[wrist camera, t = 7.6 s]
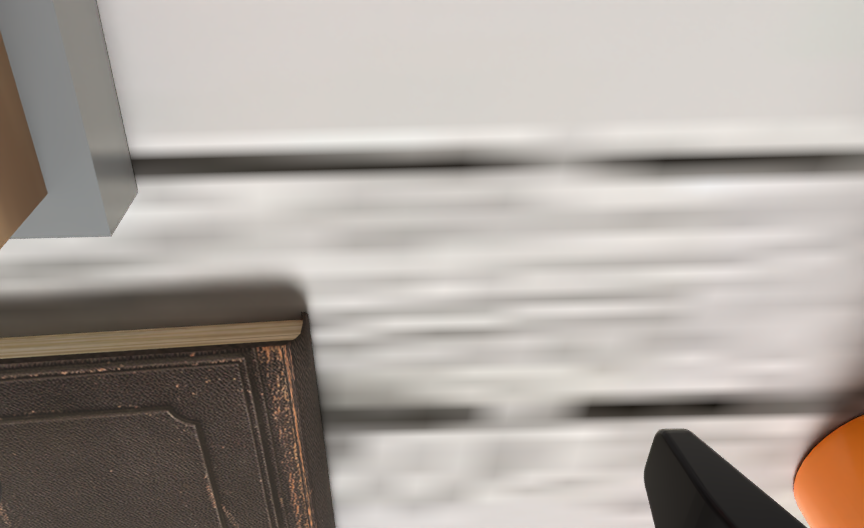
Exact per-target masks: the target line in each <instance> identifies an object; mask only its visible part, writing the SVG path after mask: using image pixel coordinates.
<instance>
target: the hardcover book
mask: <svg viewBox="0 0 864 528" xmlns="http://www.w3.org/2000/svg"><path fill="white" fill-rule="evenodd" d="M301 313H302V320H286V321H270V322H254V323H237V324H221V325H204V326H188V327H172V328H155V329H139V330H122V331H106V332H90V333H73V334H57V335H40V336H24V337H8V338H0V481H1V485H2V498H1V503H0V528H335V523H334V515H333V507H332V499H331V491H330V484H329V476H328V468H327V460H326V452H325V444H324V437H323V429H322V421H321V413H320V405H319V397H318V389H317V382H316V374H315V366H314V358H313V350H312V342H311V335H310V327H309V319H308V314H307V313H305V312H301Z"/></svg>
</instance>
